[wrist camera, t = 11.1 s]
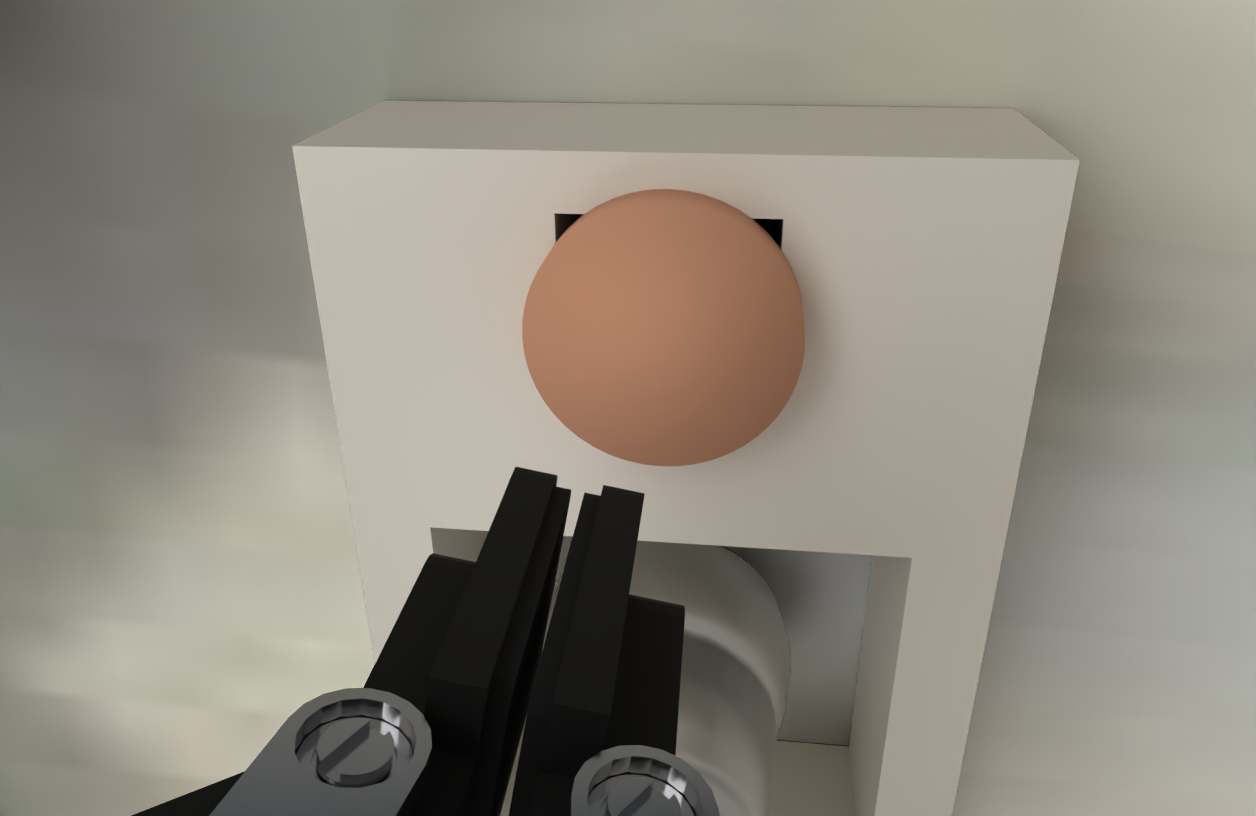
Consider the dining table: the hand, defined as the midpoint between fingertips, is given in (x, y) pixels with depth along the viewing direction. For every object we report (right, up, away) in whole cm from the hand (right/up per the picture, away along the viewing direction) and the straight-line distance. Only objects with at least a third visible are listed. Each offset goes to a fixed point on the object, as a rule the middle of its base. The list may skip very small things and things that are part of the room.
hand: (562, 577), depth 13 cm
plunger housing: (+2, -3, +15) cm, 16 cm away
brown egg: (+2, +6, +10) cm, 12 cm away
